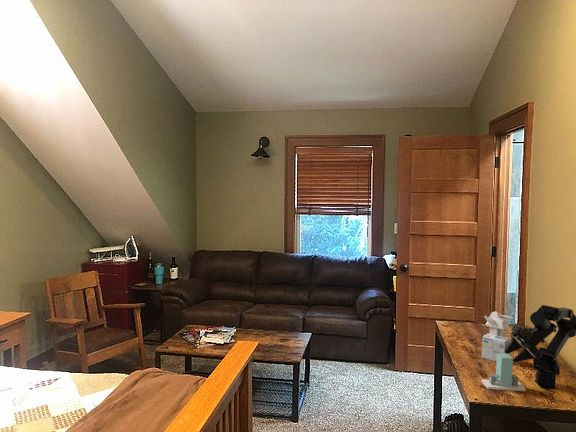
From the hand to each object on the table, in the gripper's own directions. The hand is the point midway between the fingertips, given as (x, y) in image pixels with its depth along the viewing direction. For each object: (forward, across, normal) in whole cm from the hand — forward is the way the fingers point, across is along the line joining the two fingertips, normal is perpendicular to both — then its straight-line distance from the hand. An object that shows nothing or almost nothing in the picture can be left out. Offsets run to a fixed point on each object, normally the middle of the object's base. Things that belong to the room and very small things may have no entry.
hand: (509, 357), depth 191 cm
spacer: (+9, 0, +7) cm, 12 cm away
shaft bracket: (+10, 0, +7) cm, 13 cm away
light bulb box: (+6, -30, +12) cm, 33 cm away
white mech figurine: (+1, -48, +16) cm, 50 cm away
